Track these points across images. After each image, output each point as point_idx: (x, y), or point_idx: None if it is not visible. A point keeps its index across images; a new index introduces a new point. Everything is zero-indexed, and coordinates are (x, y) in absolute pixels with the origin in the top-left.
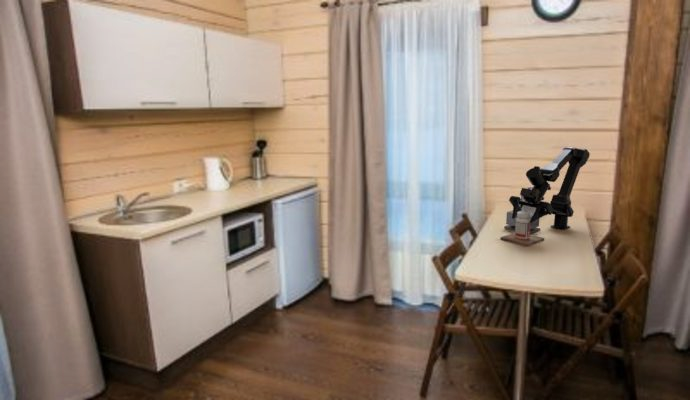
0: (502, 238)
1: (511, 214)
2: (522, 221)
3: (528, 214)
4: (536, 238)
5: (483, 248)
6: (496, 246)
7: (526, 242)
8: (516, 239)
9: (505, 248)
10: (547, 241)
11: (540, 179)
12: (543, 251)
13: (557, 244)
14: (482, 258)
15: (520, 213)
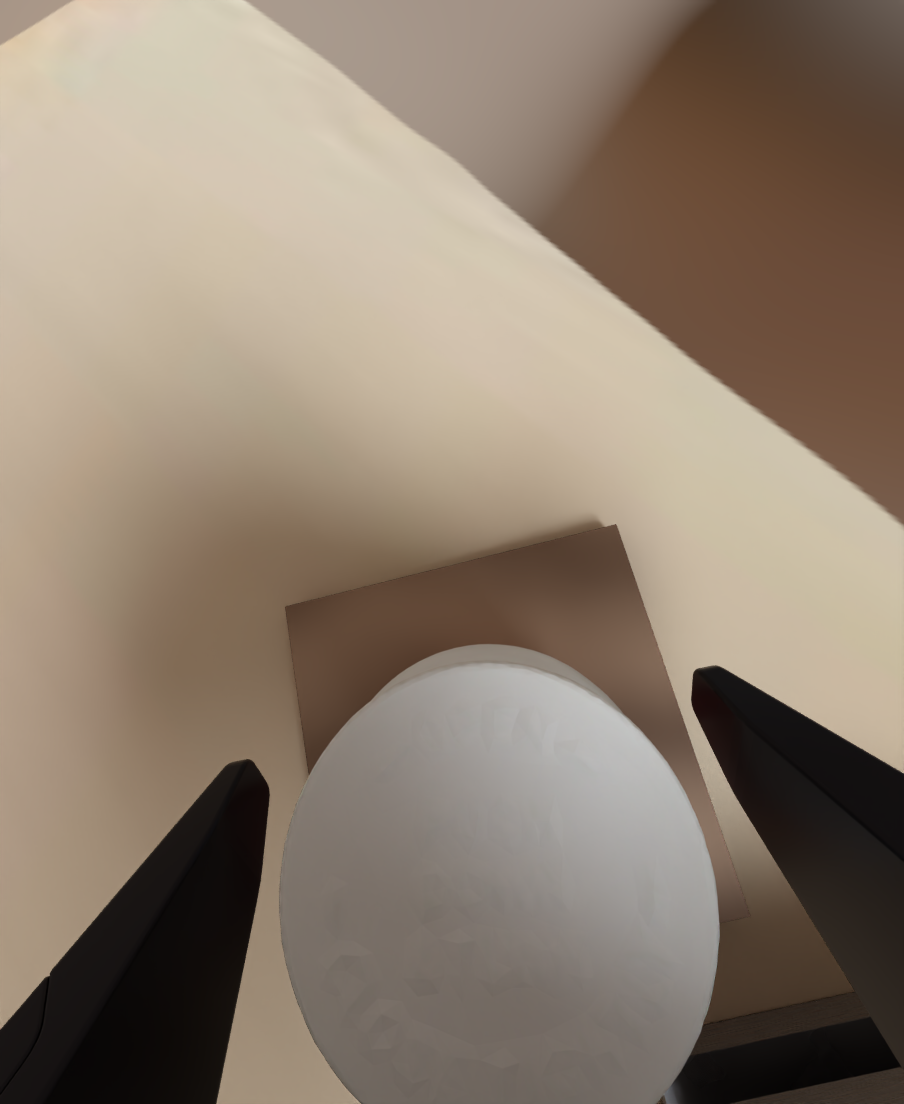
0: (586, 533)
1: None
2: (391, 680)
3: (282, 890)
4: None
5: (456, 250)
6: (445, 367)
7: (331, 647)
8: (465, 625)
9: (363, 400)
10: None
11: None
12: (116, 644)
13: None
14: (285, 140)
15: (450, 687)
